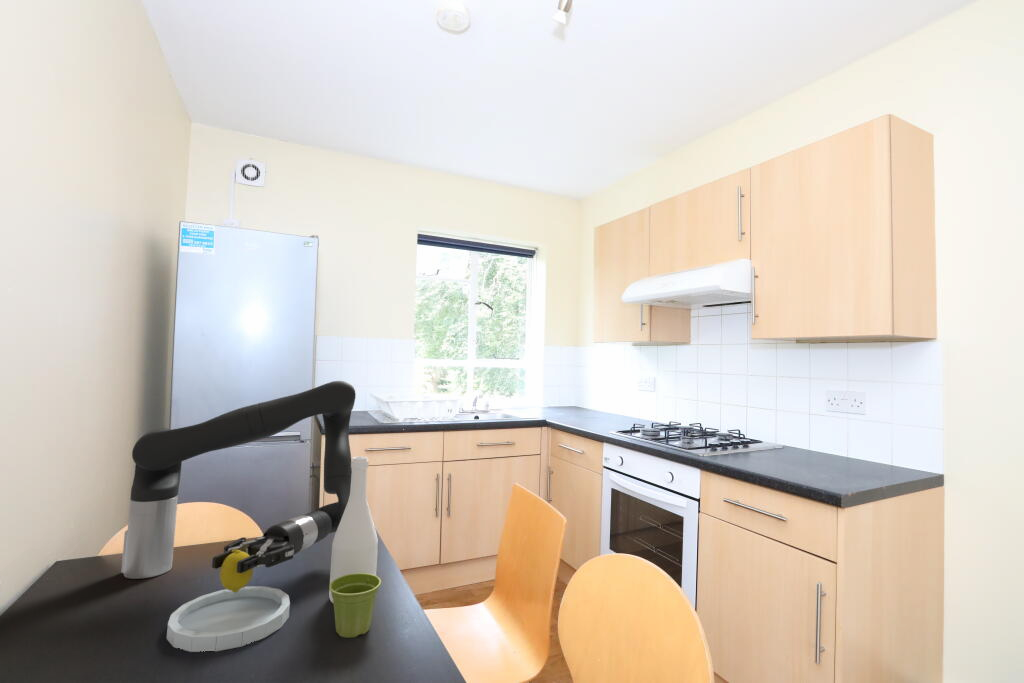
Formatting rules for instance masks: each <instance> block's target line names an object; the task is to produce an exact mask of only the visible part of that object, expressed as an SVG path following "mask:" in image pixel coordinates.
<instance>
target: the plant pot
mask: <svg viewBox="0 0 1024 683" xmlns="http://www.w3.org/2000/svg"><path fill="white" fill-rule="evenodd" d="M381 584H382V580H381V578H380V577H379V576H377V574H376V575H373V574H368V573H355V574H348V575H344V576H341V577H339V578H336V579H335V580H333V581H332V582H331V583H330V582H329V586H328V587H329V588H328V590H329V589H330V591H331V593H332V598H333V603H334V604H333V603H332V604H333V610H334V622H335V632H336V633H337V634H338V636H340V637H342V638H347V639H348V638H350V639H351V638H353V639H354V638H356V637H358V636H360V635H365V634H366V633H367V632H368V631H369V630H370V628H371V623H372V617H373V611H374V607H375V600H376V596H377V593H378V592H379V591H378V590H379V587H380V586H381Z"/></svg>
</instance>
